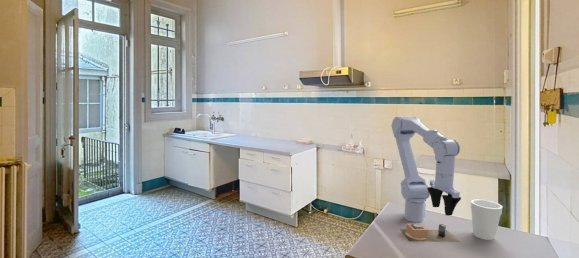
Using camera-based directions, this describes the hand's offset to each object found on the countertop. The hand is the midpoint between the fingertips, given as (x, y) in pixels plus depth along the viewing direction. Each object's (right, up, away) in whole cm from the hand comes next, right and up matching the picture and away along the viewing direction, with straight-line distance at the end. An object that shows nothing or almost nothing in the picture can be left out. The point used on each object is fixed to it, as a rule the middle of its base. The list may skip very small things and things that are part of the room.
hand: (442, 210), depth 103 cm
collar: (-9, -9, +1) cm, 12 cm away
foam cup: (+16, -11, +2) cm, 19 cm away
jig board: (-4, -10, +1) cm, 11 cm away
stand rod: (+1, -10, +1) cm, 10 cm away
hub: (-9, -10, +1) cm, 13 cm away
